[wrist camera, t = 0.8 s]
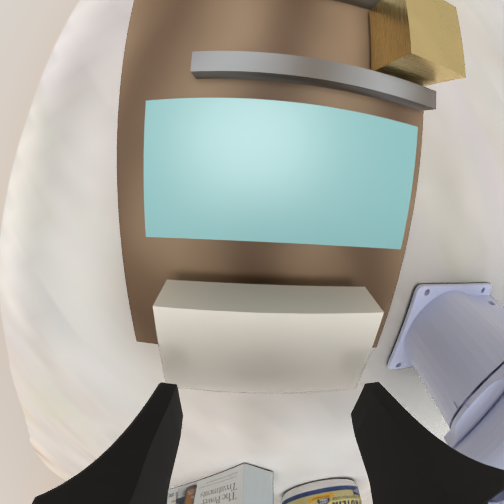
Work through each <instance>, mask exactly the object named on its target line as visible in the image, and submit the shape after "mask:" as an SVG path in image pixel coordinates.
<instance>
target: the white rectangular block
mask: <svg viewBox="0 0 504 504" xmlns="http://www.w3.org/2000/svg"><path fill="white" fill-rule="evenodd" d="M153 312H154V319H155V326H156V333H157V339H158V345H159V351H160V356H161V362H162V367H163V372H164V377H165V382H166V383H169V384H177V387H178V388H183V389H193V390H204V391H218V392H238V393H299V392H319V391H333V390H344V389H354V388H356V387H357V385H358V382H359V380H360V377H361V375H362V372H363V370H364V367H365V365H366V362H367V360H368V357H369V354H370V352H371V349H372V346H373V344H374V341H375V338H376V335H377V332H378V329H379V326H380V323H381V320H382V317H383V314H384V312H383V310H382V309H381V308H380V306H379V305H378V304H377V302H376V301H375V299H374V298H373V297H372V295H371V294H370V293H369V291H368V290H367V289H366V287H347V286H297V285H266V284H241V283H220V282H201V281H184V280H168V279H167V280H166V282H165V284H164V286H163V288H162V290H161V291H160V293H159V295H158V297H157V299H156V301H155V303H154V305H153Z"/></svg>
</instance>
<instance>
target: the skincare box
mask: <svg viewBox="0 0 504 504" xmlns="http://www.w3.org/2000/svg"><path fill="white" fill-rule="evenodd" d="M167 504H274V493H273V472H271V471H267V470H264V469H261V468H258V467H255V466H251V465H248V464H241V465H239V466H237V467H234V468H232V469H229V470H227V471H224V472H221V473H219V474H216V475H213V476H211V477H208V478H205V479H202V480H199V481H196V482H193V483H190V484H186V485H183V486H180V487H176V488H173V489H169V490H168V497H167Z"/></svg>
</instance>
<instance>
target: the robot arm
mask: <svg viewBox="0 0 504 504" xmlns="http://www.w3.org/2000/svg"><path fill="white" fill-rule="evenodd" d="M426 290H427V291H426ZM491 290H492V285H491V284H490V283H469V284H421V285H418V286H417V287H416V289H415V291H414V294H413V297H412V300H411V303H410V306H409V309H408V312H407V315H406V318H405V321H404V324H403V326H402V329H401V332H400V334H399V337H398V340H397V342H396V345H395V347H394V350H393V352H392V354H391V357H390V359H389V361H388V364H387V366H388V368H389V369H390V370H393V369H400V368H406V367H412V366H413V367H414V368H415V370H416V371H417V373H418V375H419V376H420V378H421V379H422V381H423V383H424V384H425V386H426V388H427V389H428V391H429V393H430V394H431V396H432V398H433V399H434V401H435V403H436V405H437V406H438V408H439V410H440V412H441V413H442V415H443V417H444V419H445V420H446V422H447V424H448V426H449V428H450V430H449V432H448V433H447V434H446V435H445V436H444V438H445V440H446V442H447V444H448V445H447V444H445V443H444V442H443V441H441V440H440V439H438V438H437V437H436V436H434V435H433V434H432V433H431V432H429V431H428V430H427V429H426V428H425V427H424V426H422V425H421V424H420V423H419V422H418V421H417V420H416V419H415V418H414V417H413V416H411V415H410V414H409V413H408V412H407V411H406V410H405V409H404V408H403V407H402V406H401V405H400V404H399V403H398V401H397V400H396V399H395V398H394V397H393V396H392V395H391V394H390V393H389V392H388V391H387V390H386V389H385V388H384V387H383V386H382V385H381V384H380V383H379V382H375V383H367V384H365V385H364V388H363V390H362V392H361V394H360V396H359V399H358V401H357V403H356V405H355V407H354V409H353V411H352V413H351V417H352V423H353V428H354V434H355V437H356V441H357V444H358V447H359V450H360V453H361V456H362V459H363V462H364V465H365V468H366V471H367V475H368V478H369V482H370V487H371V493H372V499H373V504H504V307H503V306H502V305H500V304H499V303H498V302H497V301H496V300H494V299H493V298H492V297H491V296H490V293H491ZM425 291H426V292H425ZM424 292H425V293H424ZM182 419H183V413H182V408H181V403H180V398H179V393H178V387H177V384H169V383H160V384H159V385H158V386H157V388H156V390H155V391H154V393H153V394H152V396H151V397H150V399H149V400H148V402H147V403H146V404H145V406H144V407H143V409H142V410H141V411H140V413H139V414H138V415H137V416H136V418H135V419H134V420H133V422H132V423H131V424H130V425H129V427H128V428H127V429H126V430H125V431H124V432H123V433H122V435H121V436H120V437H119V438H118V439H117V440H116V441H115V442H114V443H113V444H112V445H111V446H110V447H109V448H108V449H107V450H106V451H105V452H104V453H103V454H102V455H101V456H100V457H99V458H98V459H96V460H95V461H94V462H93V463H92V464H90V465H89V466H88V467H87V468H85V469H84V470H83V471H81V472H80V473H79V474H77V475H76V476H74V477H72V478H71V479H69V480H68V481H66V482H65V483H63V484H61V485H60V486H58V487H56V488H54V489H52V490H50V491H48V492H46V493H44V494H41V495H39V496H37V497H35V499H34V501H33V503H32V504H167V497H168V489H169V483H170V479H171V475H172V470H173V466H174V462H175V458H176V454H177V450H178V445H179V441H180V436H181V428H182Z"/></svg>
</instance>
